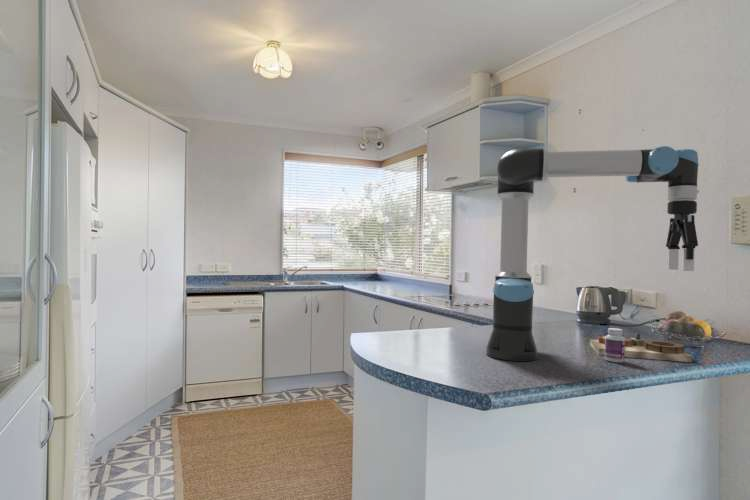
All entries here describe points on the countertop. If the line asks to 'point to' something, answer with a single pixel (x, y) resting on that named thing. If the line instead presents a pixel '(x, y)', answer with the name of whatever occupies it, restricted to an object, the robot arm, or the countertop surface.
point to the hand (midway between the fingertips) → (680, 270)
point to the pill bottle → (614, 345)
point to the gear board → (647, 349)
